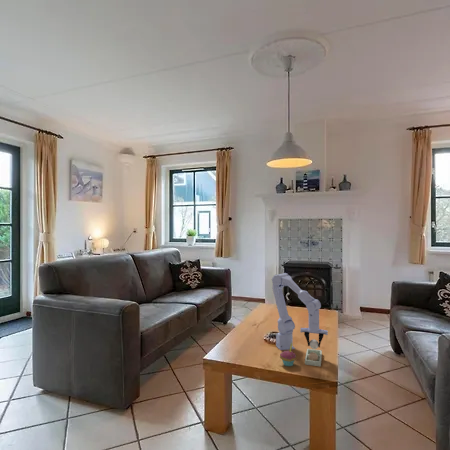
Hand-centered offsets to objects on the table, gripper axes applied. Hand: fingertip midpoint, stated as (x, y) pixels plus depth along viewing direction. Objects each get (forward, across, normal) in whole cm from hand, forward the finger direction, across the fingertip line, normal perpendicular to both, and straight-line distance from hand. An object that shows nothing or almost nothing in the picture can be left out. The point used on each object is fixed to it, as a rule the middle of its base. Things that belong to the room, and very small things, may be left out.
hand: (314, 346), depth 172 cm
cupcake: (+6, +12, +14) cm, 20 cm away
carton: (+6, 0, +4) cm, 7 cm away
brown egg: (+6, 0, +8) cm, 9 cm away
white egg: (+1, 0, 0) cm, 1 cm away
